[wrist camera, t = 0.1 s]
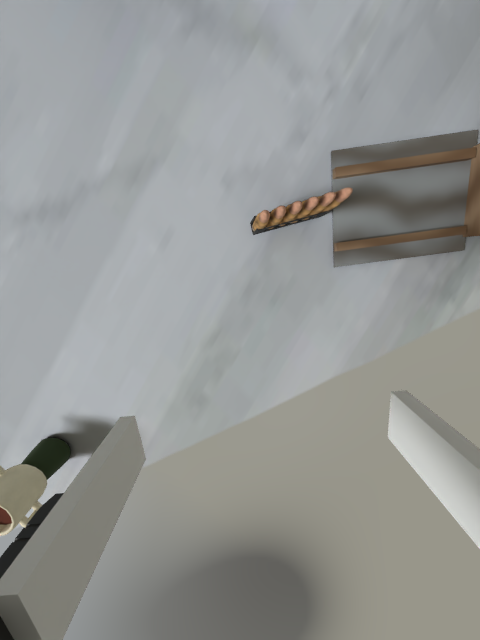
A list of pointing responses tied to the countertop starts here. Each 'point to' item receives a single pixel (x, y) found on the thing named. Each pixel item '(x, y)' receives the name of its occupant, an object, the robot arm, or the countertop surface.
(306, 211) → the ammunition clip
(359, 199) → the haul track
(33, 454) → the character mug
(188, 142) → the countertop surface
